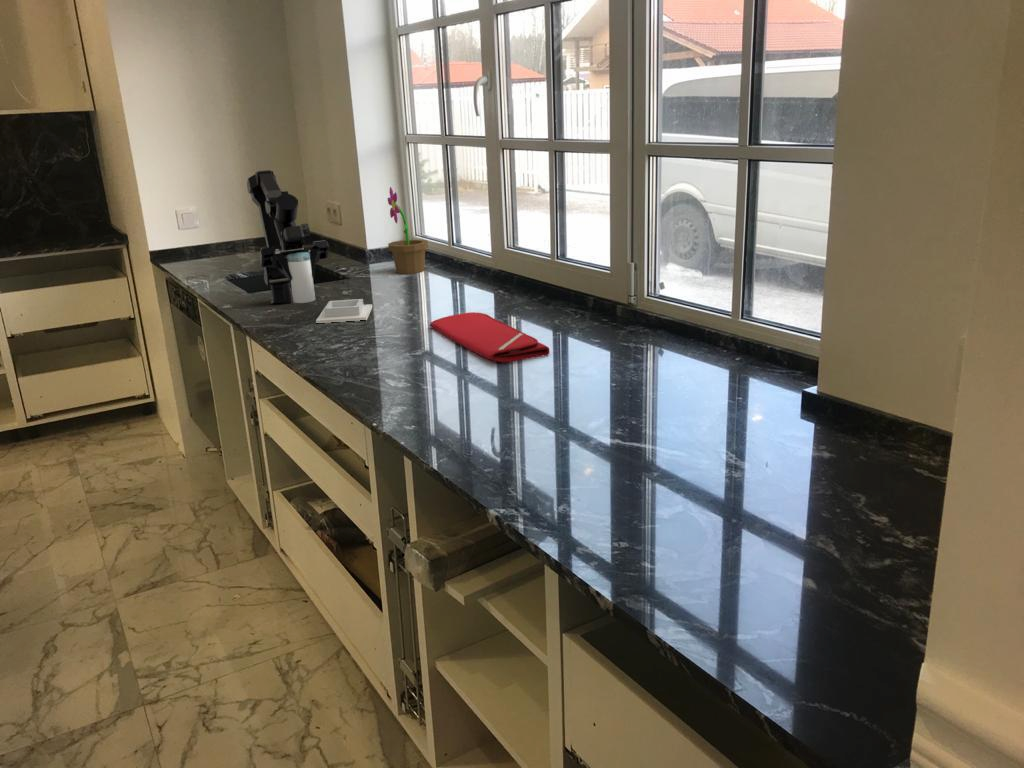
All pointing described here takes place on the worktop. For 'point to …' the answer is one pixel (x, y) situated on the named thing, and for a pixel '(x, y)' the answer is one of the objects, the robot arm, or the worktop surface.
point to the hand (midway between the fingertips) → (302, 277)
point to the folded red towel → (489, 337)
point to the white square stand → (344, 311)
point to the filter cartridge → (301, 277)
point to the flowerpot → (406, 245)
